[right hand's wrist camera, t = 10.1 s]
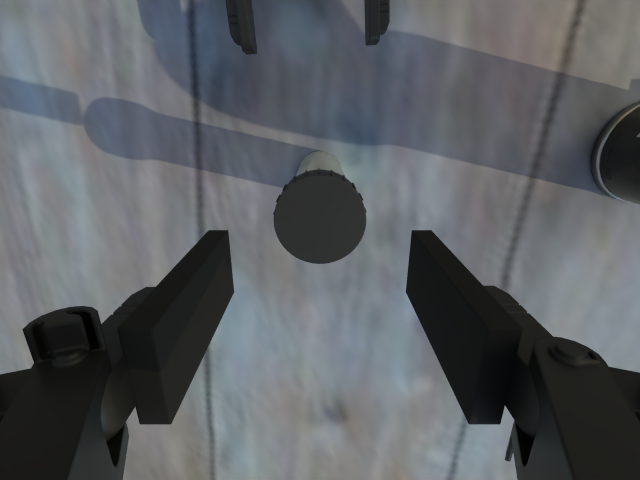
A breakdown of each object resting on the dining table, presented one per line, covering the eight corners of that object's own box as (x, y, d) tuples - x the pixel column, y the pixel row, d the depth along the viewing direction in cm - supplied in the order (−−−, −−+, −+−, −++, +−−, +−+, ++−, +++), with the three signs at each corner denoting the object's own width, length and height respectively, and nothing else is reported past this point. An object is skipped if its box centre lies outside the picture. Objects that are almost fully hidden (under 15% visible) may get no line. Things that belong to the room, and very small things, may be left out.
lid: (325, 267, 22) (326, 281, 20) (259, 217, 21) (253, 227, 19) (381, 206, 21) (387, 215, 19) (313, 149, 20) (312, 152, 18)
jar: (322, 204, 35) (324, 268, 21) (288, 176, 34) (266, 224, 20) (351, 170, 34) (374, 214, 19) (316, 141, 33) (314, 164, 18)
